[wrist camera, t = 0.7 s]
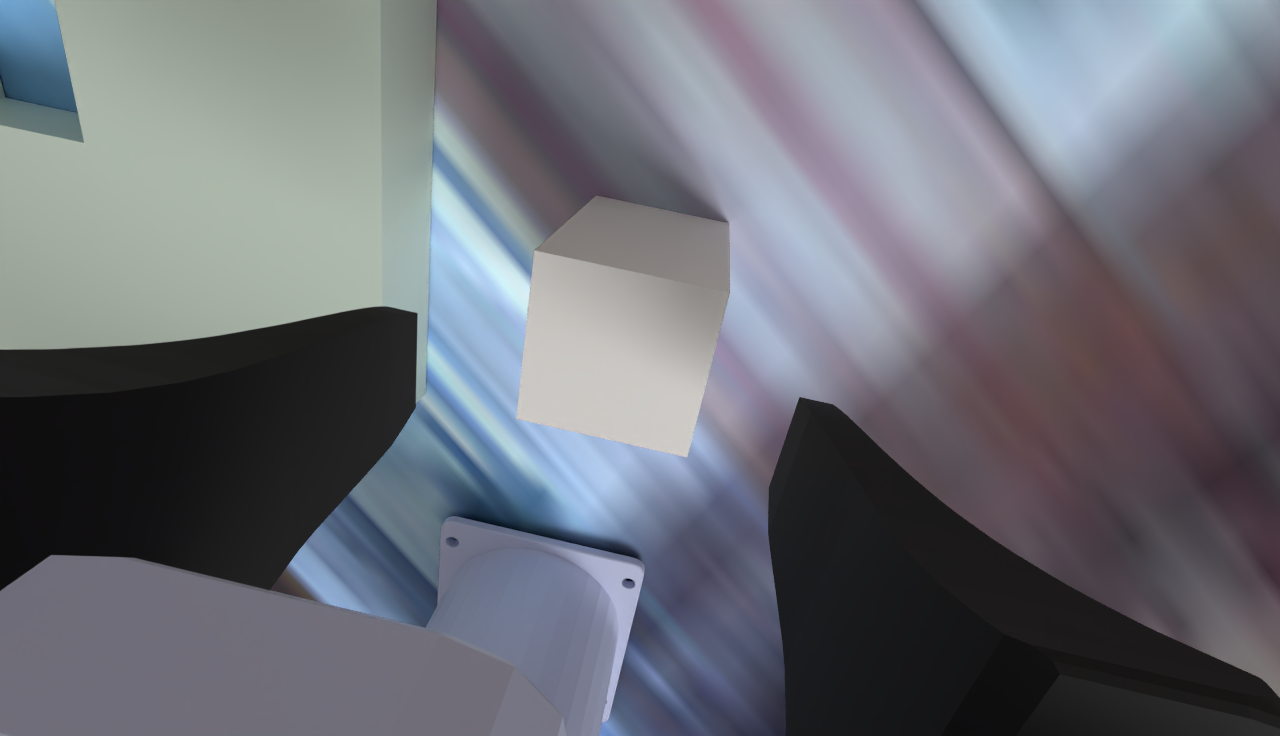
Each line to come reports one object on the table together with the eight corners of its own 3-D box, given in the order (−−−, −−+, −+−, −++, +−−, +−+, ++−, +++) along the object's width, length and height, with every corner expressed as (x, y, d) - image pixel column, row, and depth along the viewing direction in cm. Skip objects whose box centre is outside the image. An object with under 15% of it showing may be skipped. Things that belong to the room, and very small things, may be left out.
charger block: (699, 345, 20) (687, 457, 14) (578, 319, 20) (516, 418, 14) (729, 223, 18) (729, 292, 12) (596, 195, 18) (534, 250, 12)
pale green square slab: (425, 393, 22) (383, 437, 19) (3, 297, 22) (-96, 327, 20) (442, -181, 15) (378, -239, 12) (-174, -297, 15) (-365, -377, 13)
